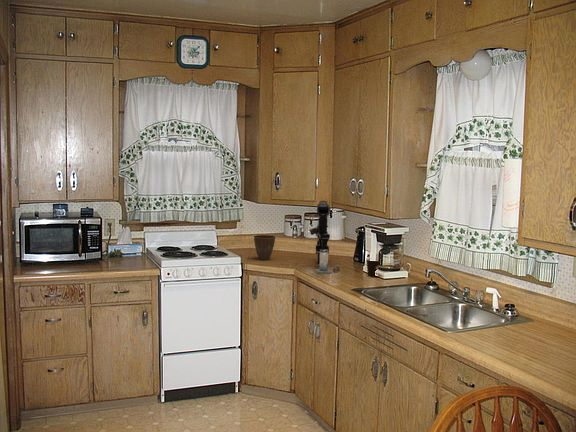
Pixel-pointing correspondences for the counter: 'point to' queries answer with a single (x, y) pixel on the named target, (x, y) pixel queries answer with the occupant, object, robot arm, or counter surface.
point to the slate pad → (323, 271)
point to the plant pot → (264, 246)
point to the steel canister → (323, 260)
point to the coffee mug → (372, 267)
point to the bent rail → (336, 268)
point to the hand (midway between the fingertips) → (322, 247)
